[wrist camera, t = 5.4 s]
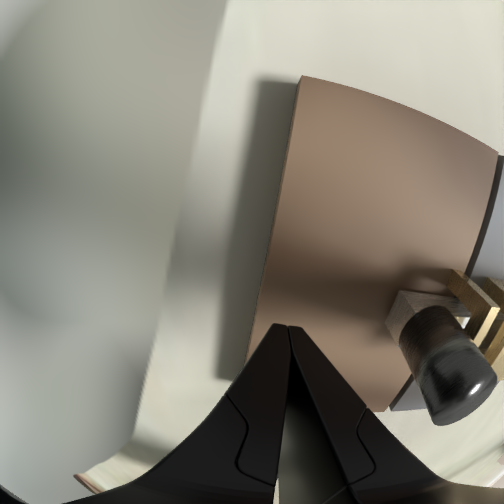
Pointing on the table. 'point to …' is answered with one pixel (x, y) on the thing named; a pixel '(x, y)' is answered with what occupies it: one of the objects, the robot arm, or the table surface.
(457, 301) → the steel bolt
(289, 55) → the table surface
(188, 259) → the table surface
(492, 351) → the brass keeper
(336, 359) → the board
